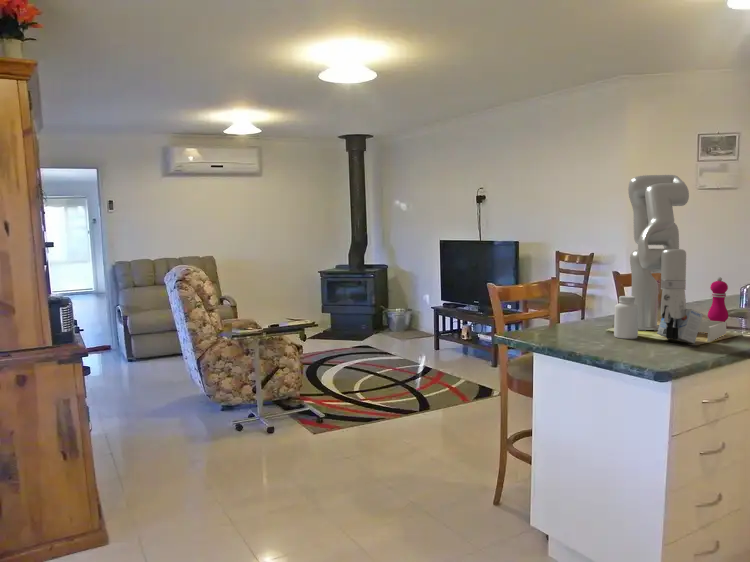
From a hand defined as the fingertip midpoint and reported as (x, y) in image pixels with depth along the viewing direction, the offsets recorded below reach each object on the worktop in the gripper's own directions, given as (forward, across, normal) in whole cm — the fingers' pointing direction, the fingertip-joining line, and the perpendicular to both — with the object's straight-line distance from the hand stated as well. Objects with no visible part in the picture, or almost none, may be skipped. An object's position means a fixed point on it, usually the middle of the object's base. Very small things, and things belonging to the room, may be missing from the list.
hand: (671, 338), depth 197 cm
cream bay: (+1, +22, +1) cm, 22 cm away
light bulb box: (+1, +5, +1) cm, 5 cm away
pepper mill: (0, +50, +2) cm, 50 cm away
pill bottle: (+2, +1, +17) cm, 17 cm away
